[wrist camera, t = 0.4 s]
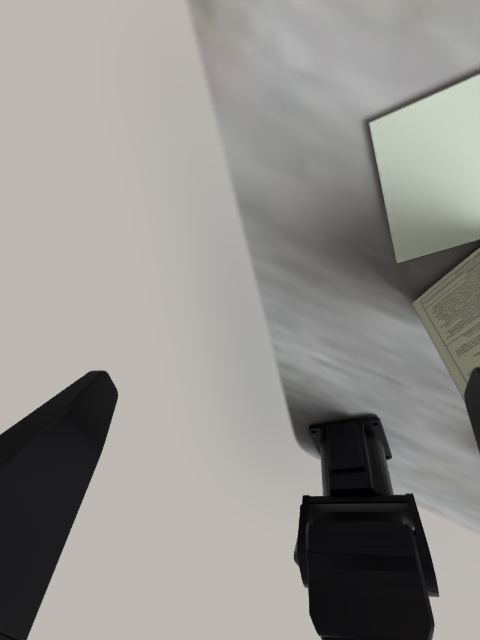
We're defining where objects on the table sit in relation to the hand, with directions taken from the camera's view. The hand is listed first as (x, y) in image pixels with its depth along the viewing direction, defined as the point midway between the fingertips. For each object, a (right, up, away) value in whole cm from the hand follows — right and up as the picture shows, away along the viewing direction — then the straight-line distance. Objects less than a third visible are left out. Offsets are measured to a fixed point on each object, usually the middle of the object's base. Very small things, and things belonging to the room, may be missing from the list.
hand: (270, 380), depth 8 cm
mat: (+11, +9, +8) cm, 16 cm away
